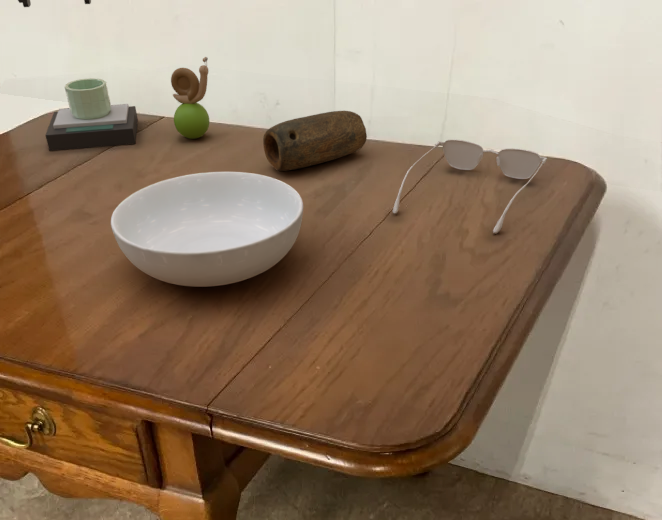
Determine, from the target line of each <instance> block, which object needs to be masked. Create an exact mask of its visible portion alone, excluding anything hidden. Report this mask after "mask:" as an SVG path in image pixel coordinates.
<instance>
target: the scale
mask: <svg viewBox="0 0 662 520" xmlns="http://www.w3.org/2000/svg"><path fill="white" fill-rule="evenodd" d="M136 107H137V106H136V105H130V106H129V103H120V104H111V110H110V111H109V114H108V115H106V116H104V117H101V118H97V119H78V118H76V117H75V116H74V115H72V114H71V112H70V108H69V107H65V108H63V107H62V108H59V109H58V111H53V114H52V117H51V119H50V121H49V125H48V127H47V130H46V132H45V139H46V143H47V146H48V151H61V150H62V151H63V150H64V151H65V150H74V149H75V150H76V149H88V148H89V149H90V148H101V147H112V146H126V145H127V146H128V145H135V144H136V141H137V133H138V124H139V119H138V113H137V108H136Z"/></svg>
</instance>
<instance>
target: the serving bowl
mask: <svg viewBox="0 0 662 520" xmlns="http://www.w3.org/2000/svg"><path fill="white" fill-rule="evenodd" d="M303 215H304V201H303V198H302V196H301V195H300V193H299V192H298V191H297V190H296V189H295V188H294V187H293V186H291V185H289V184H288V183H287V182H284V181H282V180H279V179H276V178H275V177H271V176H269V175H263V174H259V173H253V172H252V173H251V172H245V171H208V172H199V173H190V174H185V175H180V176H176V177H170V178H166V179H164V180H161V181H158V182H155V183H152V184H150V185H147V186H145V187H143V188H141V189H138V190H136V191H135V192H132V194H130V195H128V196H127V197H126V198H125V199H123V200H122V201H121V202H120V203H119V204H118V205H117V206H116V207H115V209H114V210H113V212H112V214H111V217H110V227H111V231H112V233H113V237H114V239H115V241H116V243H117V245H118V247H119V249H120V251H121V253H123V255H124V256H125V258H126V259H127V260H128V261H129V262H130V263H131V264H132V265H133V266H134V267H136V268H137V269H138V270H140V272H142V273H144V274H146V275H148V276H150V277H151V278H153V279H156V280H159V281H161V282H164V283H168V284H173V285H176V286H182V287H183V286H184V287H197V288H199V287H202V288H203V287H207V288H208V287H219V286H225V285H231V284H235V283H239V282H243V281H245V280H246V281H247V279H248V280H249V279H252V278H254V277H257V276H258V275H260V274H262V273H265V272H266V271H268V270H270V269H271V268H273V267H274V266H275V265H277V264H278V263H279V262H281V260H283V259H284V258H285V256H286V255H288V253H289V252H290V251H291V249H292V247H293V246H294V245H295V243H296V242H297V239H298V236H299V234H300V231H301V227H302V222H303Z"/></svg>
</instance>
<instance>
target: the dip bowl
mask: <svg viewBox="0 0 662 520" xmlns="http://www.w3.org/2000/svg"><path fill="white" fill-rule="evenodd" d="M107 83H108V82H107V81H106V80H105V79H103V78H102V79H101V78H91V77H89V78H79V79H75V80H72V81H69V82H68V83H66V84H65V85H64V90H65V95H66V99H67V103H68V108H70V112H71V114H72V115H74V116H75V117H76V118H78V119H97V118H101V117H104V116H106V115H108V114H109V111H110V110H111V105H112V104H111V99H110V95H109V90H108V89H109V88H108V84H107Z"/></svg>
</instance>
